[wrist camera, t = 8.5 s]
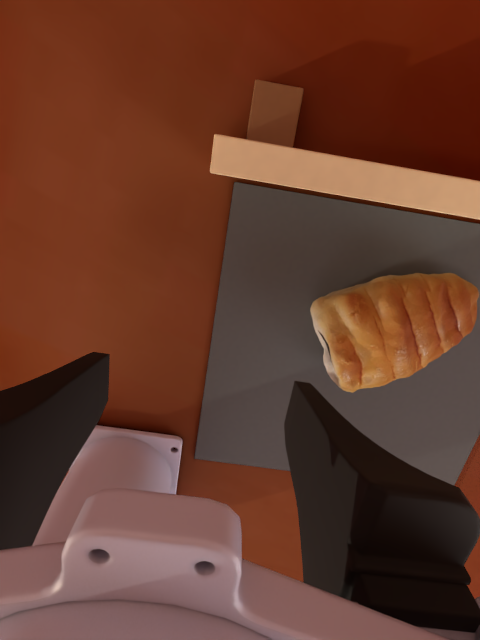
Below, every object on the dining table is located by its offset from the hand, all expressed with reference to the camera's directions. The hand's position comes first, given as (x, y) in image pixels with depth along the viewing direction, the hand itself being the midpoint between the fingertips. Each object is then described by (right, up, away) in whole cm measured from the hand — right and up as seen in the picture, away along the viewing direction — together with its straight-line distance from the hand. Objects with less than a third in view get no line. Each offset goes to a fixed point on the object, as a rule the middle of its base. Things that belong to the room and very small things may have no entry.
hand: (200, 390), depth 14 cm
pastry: (+10, +3, +9) cm, 14 cm away
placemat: (+10, 0, +10) cm, 14 cm away
